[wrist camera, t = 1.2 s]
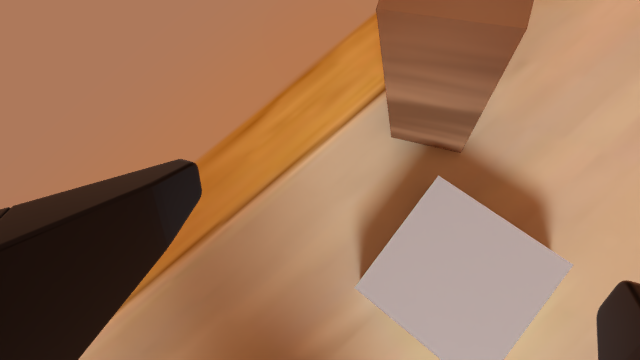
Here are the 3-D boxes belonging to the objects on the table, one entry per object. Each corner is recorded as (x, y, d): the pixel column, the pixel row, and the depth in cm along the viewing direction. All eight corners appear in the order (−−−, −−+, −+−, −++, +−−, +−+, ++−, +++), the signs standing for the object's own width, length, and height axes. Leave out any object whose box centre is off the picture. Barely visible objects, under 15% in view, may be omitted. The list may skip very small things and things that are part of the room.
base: (552, 263, 19) (573, 264, 17) (470, 374, 19) (479, 392, 16) (434, 184, 21) (438, 175, 19) (360, 283, 21) (354, 287, 18)
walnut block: (460, 152, 21) (526, 28, 10) (391, 137, 22) (376, 9, 11) (477, 87, 22) (559, -103, 10) (408, 75, 23) (412, -110, 11)
